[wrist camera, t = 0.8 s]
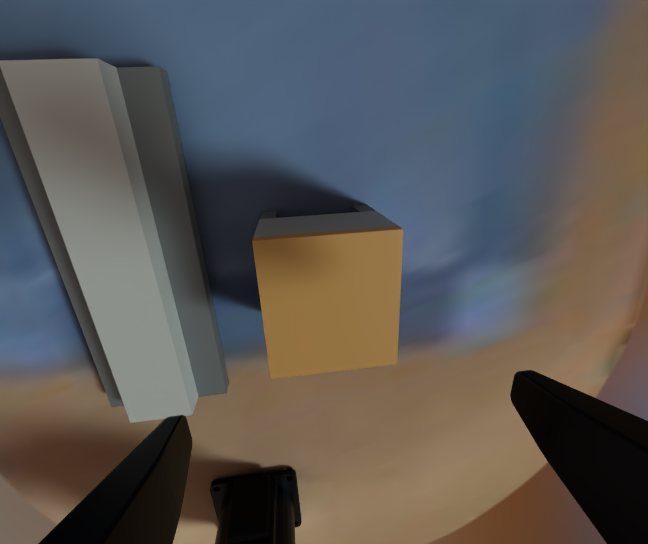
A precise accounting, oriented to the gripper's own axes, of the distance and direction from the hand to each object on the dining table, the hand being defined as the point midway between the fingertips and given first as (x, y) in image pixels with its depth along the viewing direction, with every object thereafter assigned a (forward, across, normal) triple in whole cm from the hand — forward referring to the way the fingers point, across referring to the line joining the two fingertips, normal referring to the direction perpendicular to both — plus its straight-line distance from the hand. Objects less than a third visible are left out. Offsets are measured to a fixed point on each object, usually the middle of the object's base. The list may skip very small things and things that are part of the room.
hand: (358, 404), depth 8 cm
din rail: (+11, +10, -1) cm, 15 cm away
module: (+11, 0, 0) cm, 11 cm away
